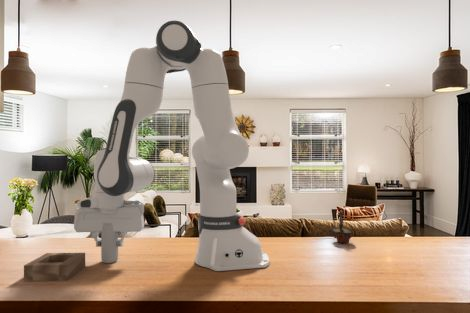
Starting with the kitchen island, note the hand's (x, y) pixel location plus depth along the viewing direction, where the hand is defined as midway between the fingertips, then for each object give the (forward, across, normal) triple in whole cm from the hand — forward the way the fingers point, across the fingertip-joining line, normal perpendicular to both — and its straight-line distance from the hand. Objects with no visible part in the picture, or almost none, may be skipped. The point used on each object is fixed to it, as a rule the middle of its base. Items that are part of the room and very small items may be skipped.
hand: (109, 246), depth 101 cm
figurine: (+5, -78, -19) cm, 80 cm away
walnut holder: (+5, +11, +10) cm, 16 cm away
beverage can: (+5, 0, 0) cm, 5 cm away
